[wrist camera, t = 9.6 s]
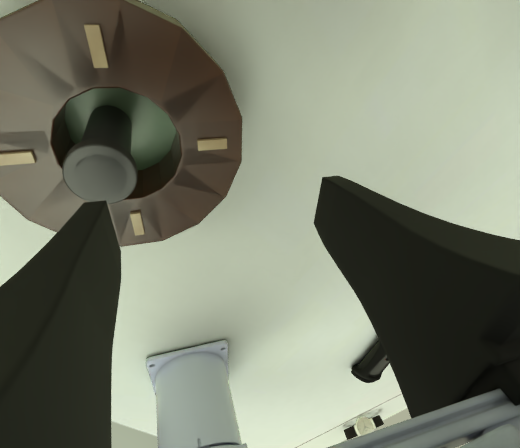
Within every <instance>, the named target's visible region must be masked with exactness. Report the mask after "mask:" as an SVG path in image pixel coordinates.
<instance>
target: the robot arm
mask: <svg viewBox="0 0 520 448" xmlns="http://www.w3.org/2000/svg"><path fill="white" fill-rule="evenodd" d="M314 225H315V227H316V229H317V231H318V234H319V236H320V238H321V240H322V242H323V244H324V246H325V248H326V249H327V251H328V252H329V254H330V255H331V257H332V258H333V260H334V262H335V263H336V265H337V266H338V268H339V269H340V271H341V272H342V274H343V275H344V277H345V278H346V280H347V281H348V283H349V284H350V286H351V287H352V289H353V290H354V292H355V293H356V295H357V297H358V298H359V300H360V302H361V304H362V306H363V308H364V310H365V312H366V313H367V315H368V317H369V319H370V321H371V323H372V325H373V327H374V329H375V332H376V334H377V336H378V338H379V340H380V342H381V344H382V346H383V348H384V351H385V353H386V355H387V358H388V360H389V362H390V365H391V367H392V369H393V372H394V374H395V376H396V379H397V381H398V384H399V386H400V389H401V392H402V394H403V397H404V399H405V402H406V405H407V407H408V410H409V413H410V415H411V418H412V419H409V420H406V421H403V422H400V423H397V424H394V425H391V426H389V427H386V428H383V429H380V430H377V431H374V432H371V433H368V434H365V435H362V436H360V437H357V438H354V439H351V440H348V441H345V442H342V443H339V444H336V445H333V446H330V447H328V448H455V447H458V446H460V445H463V444H466V443H467V444H466V445H464V446H462V447H460V448H520V240H515V239H510V238H505V237H501V236H497V235H492V234H488V233H484V232H481V231H477V230H473V229H470V228H466V227H463V226H459V225H456V224H453V223H450V222H447V221H444V220H441V219H438V218H435V217H432V216H429V215H427V214H424V213H422V212H419V211H417V210H414V209H412V208H409V207H407V206H405V205H402V204H400V203H398V202H396V201H393V200H391V199H389V198H387V197H385V196H383V195H380V194H378V193H376V192H374V191H372V190H370V189H368V188H366V187H363V186H361V185H359V184H357V183H355V182H353V181H350V180H348V179H345V178H343V177H340V176H331V177H322V183H321V188H320V193H319V198H318V204H317V209H316V214H315V219H314ZM120 283H121V250H120V247H119V243H118V240H117V236H116V233H115V229H114V226H113V222H112V219H111V216H110V212H109V209H108V205H107V202H106V200H104V201H95V202H85V203H83V204H82V205H81V206H80V208H79V209H78V210H77V211H76V212H75V213H74V214H73V215H72V217H71V218H70V219H69V220H68V221H67V222H66V223H65V225H64V226H63V227H62V228H61V229H60V230H59V231H58V232H57V233H56V235H55V236H54V237H53V238H52V239H51V240H50V241H49V242H48V243H47V244H46V245H45V246H44V247H43V248H42V249H41V250H40V251H39V252H38V253H37V254H36V255H35V256H34V257H33V258H32V259H31V260H30V261H29V262H28V263H27V264H26V265H25V266H24V267H23V268H22V269H20V270H19V271H18V272H17V273H16V274H15V275H14V276H12V277H11V278H10V279H9V280H8V281H7V282H5V283H4V284H3V285H2V286H1V287H0V448H111V368H112V347H113V338H114V330H115V322H116V315H117V307H118V299H119V291H120ZM146 366H147V369H148V372H149V375H150V379H151V382H152V385H153V388H154V391H155V395H156V409H157V435H158V448H247V444H246V443H245V444H242V442H241V438H240V433H239V428H238V424H237V419H236V414H235V410H234V405H233V400H232V396H231V391H230V386H229V382H228V343H227V341H226V340H222V341H218V342H213V343H209V344H204V345H200V346H196V347H191V348H187V349H183V350H178V351H174V352H169V353H165V354H161V355H156V356H152V357H149V358H147V359H146ZM468 442H469V443H468Z"/></svg>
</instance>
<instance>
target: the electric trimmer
mask: <svg viewBox="0 0 520 448" xmlns="http://www.w3.org/2000/svg"><path fill="white" fill-rule="evenodd" d="M389 363H390V362H389V360H388V358H387V355H386V353H385V351H384V348H383V346H382V344H381V342H380V340H379V341H378V342H377V343H376V345H375V346H374V347H373V348H372V350H371V351H370V352H369V353H368V354H367V356H366V357H365V358H364V359H363V360H362V362H361V363H360V364H359V365H354V366H352V369H351V370H352V371H351V373H352V374H353V375H354V376H355V377H356V378H358V379H359V380H361V381H363V382H366V383H371V382H375V381H377V380H379V379H380V377H381V374H382V372H383V370H384V369H385V368H386V367H387V366H388V364H389Z"/></svg>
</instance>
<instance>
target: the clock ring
mask: <svg viewBox="0 0 520 448" xmlns="http://www.w3.org/2000/svg"><path fill="white" fill-rule="evenodd" d="M96 88H122V89H125V90H127V91H130V92H133V93H136V94H139V95H142V96H144V97H147V98H148V99H150V100H151V101H152V102H153V103H155V104H156V105H157V106H158V107H159V108H161V109H162V110H163V111H164V112H165V113H167V114H168V116H169V118H170V120H171V121H172V123H173V125H174V127H175V128H176V134H175V138H174V141H173V144H172V147H171V150H170V151H169V152H168V153H167V154H166V155H165V157H164V158H163V159H162V160H161V161H160V162H159V163H157V164H155V165H152V166H150V167H148V168H146V169H144V170H138V177H137V184H136V187H135V189H134V191H133V192H132V193H131V194H130V195H129V196H128V197H127V198H125V199H124V200H122V201H120V202H117V203H113V204H107V205H108V209H109V212H110V216H111V219H112V222H113V226H114V229H115V233H116V236H117V240H118V243H119V246H121V247H122V246H129V245H136V244H143V243H150V242H157V241H163V240H165V239H167V238H170V237H172V236H174V235H176V234H178V233H180V232H182V231H184V230H186V229H189V228H191V227H193V226H195V225H197V224H199V223H200V222H201V221H202V220H203V219H204V218H205V217H206V216H207V215H208V214H209V213H210V212H211V211H212V210H213V209H214V208H215V207H216V206H217V205H218V204H219V203H220V202H221V201H222V200H223V199H224V198H225V197H226V195H227V193H228V191H229V189H230V186H231V184H232V182H233V180H234V177H235V175H236V173H237V171H238V168H239V166H240V164H241V160H242V116H241V114H240V111H239V109H238V106H237V104H236V101H235V99H234V96H233V94H232V91H231V89H230V86H229V84H228V81H227V78H226V76H225V73H224V72H223V70H222V69H221V68H220V66H219V65H218V64H217V63H216V62H215V60H214V59H213V58H212V57H211V56H210V55H209V54H208V53H207V52H206V51H205V49H204V48H203V47H202V46H201V45H200V44H199V43H198V42H197V41H196V40H195V39H194V38H193V37H192V36H191V35H190V33H189V32H188V31H187V30H186V29H185V28H184V27H183V26H182V25H181V24H180V23H179V22H178V21H177V20H176V19H175V18H173V17H171V16H168V15H166V14H164V13H162V12H160V11H158V10H156V9H154V8H152V7H150V6H148V5H146V4H144V3H142V2H140V1H138V0H38V1H36V2H34V3H31V4H29V5H27V6H25V7H23V8H21V9H19V10H17V11H14V12H12V13H10V14H8V15H6V16H4V17H2V18H0V196H1V197H2V198H3V199H4V200H6V201H7V202H8V203H9V204H10V205H11V206H13V207H14V208H15V209H16V210H17V211H18V212H19V213H21V214H22V215H23V216H24V217H25V218H26V219H28V220H30V221H32V222H34V223H37V224H39V225H41V226H43V227H46V228H48V229H50V230H53V231H55V232H58V231H59V230H60V229H61V228H62V227H63V226H64V225H65V223H66V222H67V221H68V220H69V219H70V218H71V217H72V215H73V214H74V213H75V212H76V211H77V210H78V209H79V208H80V206H81V205H82V204H83V203H85V202H88V201H86V200H83V199H81V198H80V197H78V196H77V195H75V194H74V193H73V192H72V191H71V190H70V189H69V188H68V186H67V185H66V183H65V181H64V178H63V174H62V166H63V162H64V160H65V158H66V155H67V153H68V152H69V150H70V149H71V148H72V147H73V146H74V145H76V144H75V143H74V142H73V141H72V139H71V138H70V135H69V132H68V129H67V126H66V123H65V120H64V117H65V109H66V104H67V102H68V101H69V100H70V99H72V98H74V97H76V96H78V95H81V94H83V93H85V92H87V91H89V90H91V89H96Z"/></svg>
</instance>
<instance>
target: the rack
mask: <svg viewBox="0 0 520 448" xmlns="http://www.w3.org/2000/svg"><path fill="white" fill-rule="evenodd" d="M64 120H65V123H66V126H67V129H68V132H69V135H70V138H71V139H72V141H73V142H74V143H75V144H76V145H74V146H73V147H72V148H71V149H70V150H69V152H68V153H67V155H66V158H65V160H64V162H63V166H62V174H63V178H64V181H65V183H66V185H67V186H68V188H69V189H70V190H71V191H72V192H73V193H74V194H75V195H77V196H78V197H80V198H81V199H83V200H86V201H88V202H95V201H104V200H106V202H107V204H113V203H117V202H120V201H122V200H124V199H125V198H127V197H128V196H129V195H130V194H131V193H132V192H133V191H134V189H135V187H136V184H137V177H138V170H144V169H146V168H148V167H150V166H152V165H155V164H157V163H159V162H160V161H161V160H162V159H163V158H164V157H165V155H166V154H167V153H168V152H169V151H170V150H171V147H172V144H173V141H174V138H175V134H176V128H175V127H174V125H173V123H172V121H171V120H170V118H169V116H168V114H167V113H165V112H164V111H163V110H162V109H161V108H159V107H158V106H157V105H156V104H155V103H153V102H152V101H151V100H150V99H148V98H147V97H144V96H142V95H139V94H136V93H133V92H130V91H127V90H125V89H122V88H96V89H91V90H89V91H87V92H85V93H83V94H81V95H78V96H76V97H74V98H72V99H70V100H69V101H68V102H67V104H66V109H65V117H64Z"/></svg>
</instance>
